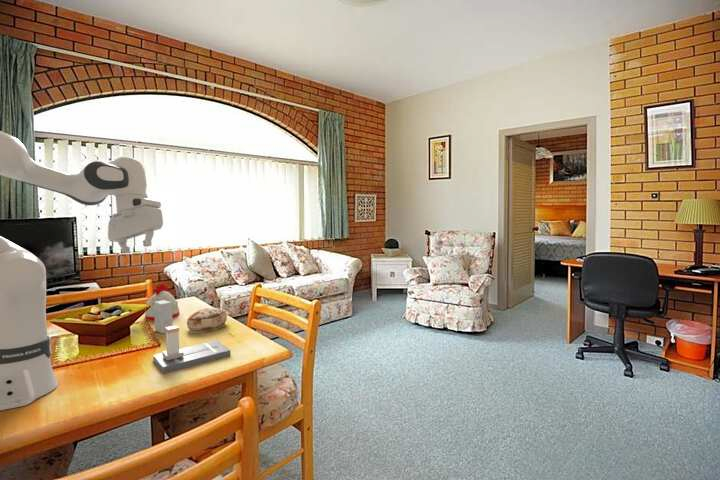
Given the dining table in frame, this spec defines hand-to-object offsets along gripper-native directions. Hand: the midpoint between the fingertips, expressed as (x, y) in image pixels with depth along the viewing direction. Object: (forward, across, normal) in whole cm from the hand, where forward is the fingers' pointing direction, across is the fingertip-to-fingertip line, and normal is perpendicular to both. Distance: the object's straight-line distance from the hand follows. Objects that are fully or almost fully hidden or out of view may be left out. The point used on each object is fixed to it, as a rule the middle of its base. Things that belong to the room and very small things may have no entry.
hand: (136, 249), depth 116 cm
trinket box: (+28, -15, +42) cm, 52 cm away
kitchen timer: (+19, -44, +46) cm, 66 cm away
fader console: (+37, +2, +16) cm, 40 cm away
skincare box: (+26, -28, +31) cm, 49 cm away
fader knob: (+35, -1, +10) cm, 36 cm away
